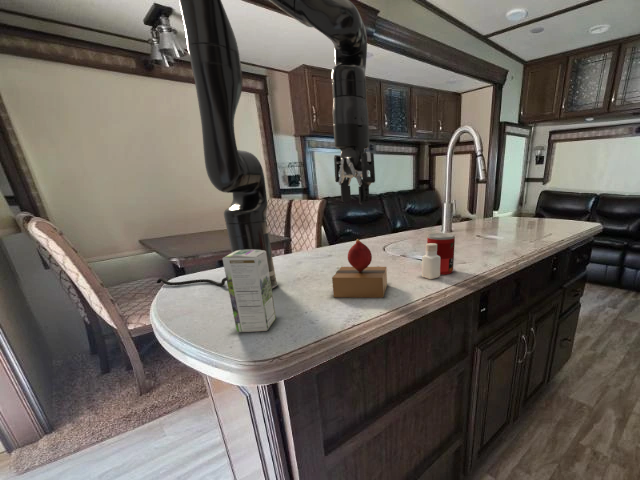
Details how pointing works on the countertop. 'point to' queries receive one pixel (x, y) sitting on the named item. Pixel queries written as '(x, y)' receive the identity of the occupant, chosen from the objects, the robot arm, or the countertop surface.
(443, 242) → the canned food
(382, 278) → the cardboard box
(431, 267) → the pepper shaker
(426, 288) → the countertop surface
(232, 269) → the syrup box
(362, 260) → the onion
